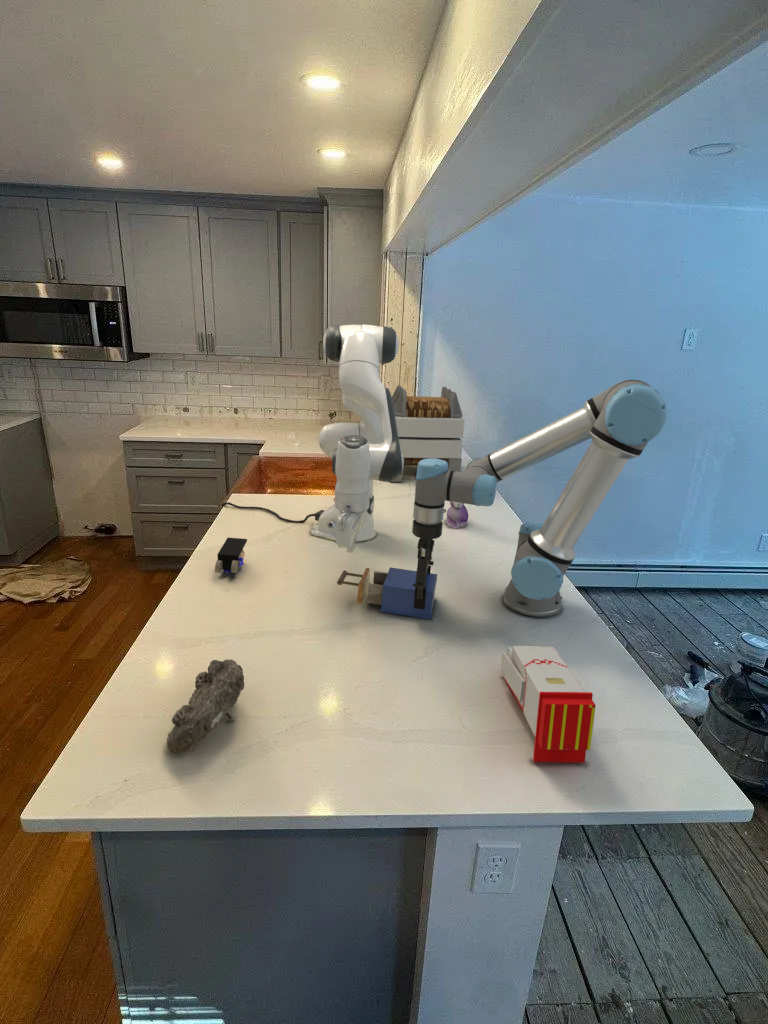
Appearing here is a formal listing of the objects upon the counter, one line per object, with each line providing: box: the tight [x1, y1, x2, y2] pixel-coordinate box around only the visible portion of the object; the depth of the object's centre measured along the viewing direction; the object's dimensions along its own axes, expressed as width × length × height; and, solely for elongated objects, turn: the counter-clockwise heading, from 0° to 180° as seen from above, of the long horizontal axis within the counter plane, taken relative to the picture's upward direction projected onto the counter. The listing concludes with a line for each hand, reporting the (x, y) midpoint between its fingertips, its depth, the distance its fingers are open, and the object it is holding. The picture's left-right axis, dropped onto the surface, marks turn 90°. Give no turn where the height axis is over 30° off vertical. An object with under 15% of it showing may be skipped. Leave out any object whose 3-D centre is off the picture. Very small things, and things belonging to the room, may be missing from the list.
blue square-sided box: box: [380, 566, 438, 620], centre depth 150 cm, size 13×11×8 cm
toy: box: [499, 645, 597, 764], centre depth 112 cm, size 12×13×30 cm
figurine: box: [445, 501, 469, 529], centre depth 209 cm, size 9×10×15 cm
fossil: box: [166, 658, 245, 754], centre depth 106 cm, size 22×10×15 cm
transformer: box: [391, 384, 465, 483], centre depth 268 cm, size 34×33×41 cm
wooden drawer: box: [336, 567, 388, 606], centre depth 152 cm, size 18×10×6 cm, turn 80°
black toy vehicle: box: [214, 537, 248, 578], centre depth 166 cm, size 7×8×15 cm
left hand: (350, 550), depth 149 cm, fingers closed
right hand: (421, 597), depth 150 cm, fingers closed on blue square-sided box, 11 cm apart
